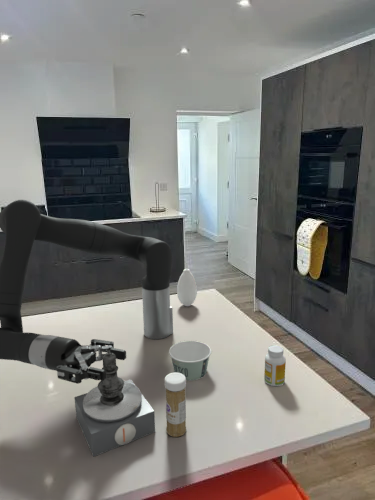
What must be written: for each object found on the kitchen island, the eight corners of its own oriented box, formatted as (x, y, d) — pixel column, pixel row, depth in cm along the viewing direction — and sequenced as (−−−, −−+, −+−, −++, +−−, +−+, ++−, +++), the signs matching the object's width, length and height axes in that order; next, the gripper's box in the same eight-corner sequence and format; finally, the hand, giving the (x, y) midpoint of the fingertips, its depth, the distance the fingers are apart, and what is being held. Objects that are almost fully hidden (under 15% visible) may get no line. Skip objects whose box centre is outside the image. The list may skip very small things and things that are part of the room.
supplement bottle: (285, 377, 104) (287, 345, 102) (283, 388, 99) (285, 355, 97) (265, 374, 106) (266, 342, 103) (262, 384, 101) (264, 352, 98)
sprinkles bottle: (162, 431, 84) (160, 378, 81) (175, 420, 88) (174, 369, 84) (177, 441, 81) (176, 386, 78) (190, 429, 85) (190, 376, 81)
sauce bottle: (185, 300, 159) (184, 259, 155) (200, 304, 155) (200, 262, 151) (173, 306, 153) (172, 264, 149) (189, 310, 149) (189, 267, 144)
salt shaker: (119, 407, 82) (116, 358, 79) (94, 404, 83) (89, 355, 80) (128, 391, 87) (126, 344, 84) (105, 388, 89) (101, 342, 86)
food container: (218, 366, 110) (218, 345, 108) (199, 388, 100) (199, 366, 98) (182, 356, 116) (181, 336, 114) (161, 376, 105) (160, 355, 104)
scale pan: (129, 384, 94) (129, 375, 94) (151, 414, 83) (151, 404, 83) (77, 401, 88) (76, 392, 87) (93, 436, 77) (92, 425, 77)
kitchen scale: (131, 398, 96) (130, 379, 95) (156, 433, 84) (155, 412, 82) (76, 417, 89) (74, 397, 88) (94, 458, 77) (92, 436, 76)
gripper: (30, 353, 81) (96, 366, 75) (72, 325, 93) (130, 334, 88) (34, 384, 82) (98, 399, 77) (75, 352, 95) (132, 363, 90)
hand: (115, 364), depth 83 cm, fingers open, 8 cm apart
